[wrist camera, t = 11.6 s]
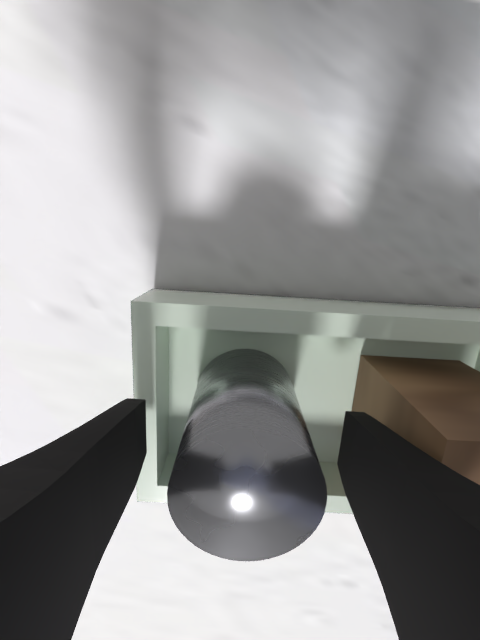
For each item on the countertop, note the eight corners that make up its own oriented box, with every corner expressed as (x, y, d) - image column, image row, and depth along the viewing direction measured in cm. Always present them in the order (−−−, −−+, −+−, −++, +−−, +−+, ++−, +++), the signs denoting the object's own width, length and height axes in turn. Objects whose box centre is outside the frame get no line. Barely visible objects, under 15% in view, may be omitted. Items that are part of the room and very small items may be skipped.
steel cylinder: (298, 352, 13) (339, 436, 7) (286, 438, 14) (314, 566, 8) (199, 344, 13) (169, 423, 7) (194, 431, 14) (165, 556, 8)
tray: (497, 309, 13) (556, 326, 10) (452, 475, 15) (493, 522, 12) (152, 289, 13) (130, 301, 10) (154, 458, 15) (136, 501, 12)
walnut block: (459, 360, 13) (616, 448, 7) (437, 446, 14) (562, 578, 8) (361, 354, 13) (447, 439, 7) (346, 441, 14) (413, 571, 8)
